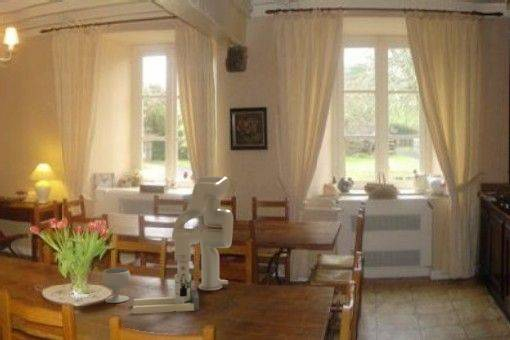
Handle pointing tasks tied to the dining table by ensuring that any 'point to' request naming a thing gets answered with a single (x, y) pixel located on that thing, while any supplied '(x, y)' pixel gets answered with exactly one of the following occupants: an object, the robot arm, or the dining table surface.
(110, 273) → the chalice
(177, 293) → the syrup box
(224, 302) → the dining table surface
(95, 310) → the dining table surface
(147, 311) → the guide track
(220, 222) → the robot arm
